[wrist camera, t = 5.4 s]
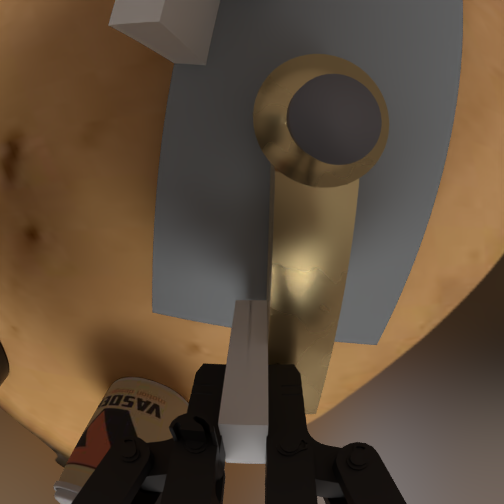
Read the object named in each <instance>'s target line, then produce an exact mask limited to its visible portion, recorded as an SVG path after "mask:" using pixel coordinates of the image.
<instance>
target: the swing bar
mask: <svg viewBox="0 0 504 504" xmlns="http://www.w3.org/2000/svg"><path fill="white" fill-rule="evenodd" d="M325 74H341V75H346V76H349V77H351V78H353V79H355V80H357V81H359V82H360V83H362V84H363V85H364V86H365V87H366V88H367V89H368V90H369V91H370V92H371V93H372V95H373V96H374V97H375V99H376V101H377V103H378V106H379V108H380V112H381V119H382V126H381V132H380V136H379V139H378V141H377V143H376V145H375V146H374V148H373V149H372V150H371V152H369V153H368V154H367V155H366V156H365V157H363V158H362V159H360V160H358V161H356V162H354V163H351V164H346V165H333V164H327V163H324V162H321V161H319V160H317V159H315V158H314V157H312V156H310V155H309V154H307V153H306V152H304V151H303V150H302V149H301V148H300V147H299V146H298V145H297V144H296V143H295V142H294V140H293V139H292V137H291V135H290V133H289V130H288V126H287V117H286V115H287V109H288V105H289V103H290V100H291V99H292V97H293V95H294V94H295V93H296V92H297V91H298V90H299V89H300V88H301V87H302V86H303V85H304V84H305V83H306V82H308V81H309V80H311V79H313V78H315V77H317V76H320V75H325ZM253 126H254V131H255V135H256V138H257V141H258V144H259V146H260V148H261V150H262V152H263V153H264V155H265V156H266V158H267V159H268V160H269V161H270V202H269V237H268V268H267V295H266V300H267V326H268V365H275V364H294V365H295V366H296V368H297V369H298V371H299V372H300V374H301V381H302V390H303V398H304V407H305V414H316V411H317V408H318V404H319V401H320V397H321V393H322V389H323V386H324V382H325V378H326V374H327V370H328V366H329V362H330V358H331V353H332V349H333V345H334V340H335V336H336V331H337V326H338V321H339V316H340V311H341V306H342V301H343V296H344V290H345V284H346V279H347V273H348V266H349V260H350V253H351V247H352V240H353V232H354V224H355V216H356V207H357V198H358V188H359V178H361V177H362V176H363V175H365V174H366V173H367V172H369V170H370V169H371V168H372V167H373V166H374V165H375V164H376V163H377V161H378V160H379V158H380V157H381V155H382V153H383V151H384V149H385V146H386V143H387V139H388V134H389V115H388V109H387V106H386V102H385V100H384V97H383V95H382V93H381V91H380V90H379V88H378V86H377V85H376V83H375V82H374V81H373V80H372V78H371V77H370V76H369V75H368V74H367V73H366V72H364V71H363V70H362V69H361V68H359V67H358V66H356V65H355V64H353V63H351V62H349V61H347V60H345V59H343V58H340V57H336V56H333V55H327V54H308V55H303V56H298V57H296V58H293V59H290V60H288V61H286V62H284V63H283V64H281V65H280V66H278V67H277V68H276V69H274V70H273V71H272V72H271V73H270V74H269V75H268V77H267V78H266V79H265V81H264V82H263V84H262V85H261V87H260V89H259V91H258V94H257V96H256V99H255V104H254V109H253Z"/></svg>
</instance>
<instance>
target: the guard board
mask: <svg viewBox="0 0 504 504" xmlns="http://www.w3.org/2000/svg"><path fill="white" fill-rule="evenodd" d="M108 26H110V27H112V28H114V29H116V30H118V31H120V32H122V33H123V34H125V35H127V36H129V37H131V38H133V39H134V40H136V41H138V42H140V43H141V44H143V45H145V46H146V47H148V48H150V49H152V50H153V51H155V52H157V53H158V54H160V55H161V56H163V57H165V58H166V59H168V60H170V61H171V62H173V63H174V67H173V73H172V78H171V84H170V89H169V95H168V101H167V108H166V114H165V121H164V128H163V136H162V144H161V152H160V161H159V171H158V181H157V193H156V206H155V222H154V242H153V280H152V308H153V313H158V314H163V315H167V316H172V317H177V318H182V319H187V320H192V321H197V322H203V323H208V324H213V325H219V326H225V327H231V328H232V322H233V315H234V309H235V302H236V300H266V295H267V268H268V237H269V202H270V161H269V160H268V159H267V158H266V156H265V155H264V153H263V152H262V150H261V148H260V146H259V144H258V141H257V138H256V135H255V131H254V126H253V109H254V104H255V99H256V96H257V94H258V91H259V89H260V87H261V85H262V84H263V82H264V81H265V79H266V78H267V77H268V75H269V74H270V73H271V72H272V71H273V70H274V69H276V68H277V67H278V66H280V65H281V64H283V63H284V62H286V61H288V60H290V59H293V58H296V57H298V56H303V55H308V54H327V55H333V56H336V57H340V58H343V59H345V60H347V61H349V62H351V63H353V64H355V65H356V66H358V67H359V68H361V69H362V70H363V71H364V72H366V73H367V74H368V75H369V76H370V77H371V78H372V80H373V81H374V82H375V83H376V85H377V86H378V88H379V90H380V91H381V93H382V95H383V97H384V100H385V102H386V106H387V109H388V115H389V134H388V139H387V143H386V146H385V149H384V151H383V153H382V155H381V157H380V158H379V160H378V161H377V163H376V164H375V165H374V166H373V167H372V168H371V169H370V170H369V172H367V173H366V174H365V175H363V176H362V177H361V178H359V188H358V198H357V207H356V216H355V224H354V232H353V240H352V247H351V253H350V260H349V266H348V273H347V279H346V284H345V290H344V296H343V301H342V306H341V311H340V316H339V321H338V326H337V331H336V336H335V340H334V341H335V342H346V343H357V344H370V345H377V343H378V341H379V339H380V337H381V335H382V333H383V331H384V329H385V327H386V325H387V323H388V321H389V319H390V317H391V315H392V313H393V310H394V308H395V306H396V304H397V302H398V299H399V297H400V295H401V293H402V290H403V288H404V285H405V283H406V281H407V278H408V276H409V273H410V271H411V268H412V266H413V263H414V261H415V258H416V255H417V253H418V250H419V247H420V244H421V242H422V239H423V236H424V233H425V230H426V227H427V224H428V221H429V218H430V215H431V212H432V208H433V205H434V202H435V198H436V195H437V191H438V188H439V184H440V180H441V176H442V173H443V169H444V164H445V160H446V156H447V151H448V147H449V142H450V137H451V132H452V127H453V121H454V115H455V109H456V103H457V96H458V88H459V79H460V69H461V57H462V38H463V0H115V4H114V7H113V10H112V14H111V17H110V21H109V25H108ZM286 117H287V126H288V130H289V133H290V135H291V137H292V139H293V140H294V142H295V143H296V144H297V145H298V146H299V147H300V148H301V149H302V150H303V151H304V152H306V153H307V154H309V155H310V156H312V157H314V158H315V159H317V160H319V161H321V162H324V163H327V164H333V165H346V164H351V163H354V162H356V161H358V160H360V159H362V158H363V157H365V156H366V155H367V154H368V153H369V152H371V150H372V149H373V148H374V146H375V145H376V143H377V141H378V139H379V136H380V132H381V126H382V119H381V112H380V108H379V106H378V103H377V101H376V99H375V97H374V96H373V95H372V93H371V92H370V91H369V90H368V89H367V88H366V87H365V86H364V85H363V84H362V83H360V82H359V81H357V80H355V79H353V78H351V77H349V76H346V75H341V74H325V75H320V76H317V77H315V78H313V79H311V80H309V81H308V82H306V83H305V84H304V85H303V86H302V87H301V88H300V89H299V90H298V91H297V92H296V93H295V94H294V95H293V97H292V99H291V100H290V103H289V105H288V109H287V115H286Z"/></svg>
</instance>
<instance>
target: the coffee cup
mask: <svg viewBox="0 0 504 504" xmlns="http://www.w3.org/2000/svg"><path fill="white" fill-rule="evenodd" d="M188 405H189V404H188V402H187V401H186V400H185V399H184V398H183V397H182V396H181V395H179V394H178V393H177V392H175V391H174V390H172V389H170V388H168V387H166V386H164V385H162V384H160V383H158V382H155V381H151V380H148V379H144V378H137V377H126V378H121V379H119V380H116V381H115V382H114V383H113V384H112V385H111V387H110V388H109V390H108V391H107V393H106V394H105V396H104V398H103V399H102V401H101V403H100V404H99V406H98V408H97V410H96V411H95V413H94V415H93V416H92V418H91V420H90V422H89V423H88V425H87V427H86V429H85V430H84V432H83V434H82V436H81V438H80V440H79V441H78V443H77V445H76V447H75V449H74V451H73V452H72V454H71V456H70V458H69V460H68V462H67V464H66V466H65V468H64V471H63V472H62V474H61V477H60V479H59V481H56V482H55V484H54V490H55V491H56V492H55V499H56V500H57V501H58V502H60V503H61V504H71V503H72V501H73V500H74V499H75V497H76V496H77V494H78V493H79V491H80V490H81V489H82V487H83V486H84V484H85V483H86V481H87V480H88V479H89V477H90V476H91V474H92V473H93V472H94V470H95V469H96V467H97V466H98V464H99V463H100V462H101V460H102V459H103V457H104V456H105V455H106V453H107V452H108V450H109V449H110V447H111V446H112V445H113V444H114V443H115V442H116V441H117V440H118V439H120V438H122V437H125V436H135V437H139V438H141V439H142V440H144V441H145V442H146V443H149V442H158V441H164V440H168V439H171V438H173V437H172V434H171V432H170V430H169V426H170V424H171V422H172V421H173V420H174V419H175V418H176V417H178V416H180V415H182V414H185V413H187V409H188Z"/></svg>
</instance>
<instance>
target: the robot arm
mask: <svg viewBox="0 0 504 504" xmlns="http://www.w3.org/2000/svg"><path fill="white" fill-rule="evenodd" d="M8 373H9V367H8V363H7V359H6V356H5V354H4V351H3V349H2V347H1V345H0V386H1V384H2V383H3V382H4V380H5V379H6V377H7V376H8ZM169 430H170V432H171V434H172V437H173V438H171V439H168V440H164V441H158V442H149V443H146V442H145V441H144V440H142V439H141V438H139V437H135V436H125V437H122V438H120V439H118V440H117V441H116V442H115V443H114V444H113V445H112V446H111V447H110V449H109V450H108V452H107V453H106V455H105V456H104V457H103V459H102V460H101V462H100V463H99V464H98V466H97V467H96V469H95V470H94V472H93V473H92V474H91V476H90V477H89V479H88V480H87V481H86V483H85V484H84V486H83V487H82V489H81V490H80V491H79V493H78V494H77V496H76V497H75V499H74V500H73V501H72V503H71V504H223V494H224V484H225V471H224V466H225V460H226V462H229V463H255V464H256V463H257V464H258V463H259V464H266V468H265V469H266V470H265V472H266V477H265V504H317V496H320V497H323V498H324V500H325V503H326V504H406V502H405V500H404V498H403V497H402V495H401V493H400V491H399V490H398V488H397V486H396V484H395V482H394V481H393V479H392V477H391V476H390V474H389V472H388V470H387V468H386V467H385V465H384V463H383V462H382V460H381V458H380V456H379V454H378V453H377V452H376V450H375V449H374V448H373V447H372V446H369V445H368V444H366V443H360V442H356V443H350V444H348V445H346V446H344V447H343V448H339V447H333V446H328V445H324V444H321V443H319V442H317V441H315V440H314V439H313V438H312V437H311V436H310V434H309V433H308V431H307V425H306V416H305V407H304V398H303V390H302V381H301V374H300V372H299V371H298V369H297V368H296V366H295V365H294V364H275V365H268V326H267V300H236V302H235V309H234V315H233V322H232V329H231V336H230V343H229V350H228V357H227V364H226V365H224V364H203V365H202V366H201V367H200V369H199V370H198V371H197V372H196V375H195V379H194V385H193V388H192V394H191V396H190V400H189V405H188V409H187V413H185V414H182V415H180V416H178V417H176V418H175V419H174V420H173V421H172V422H171V424H170V426H169Z"/></svg>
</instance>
